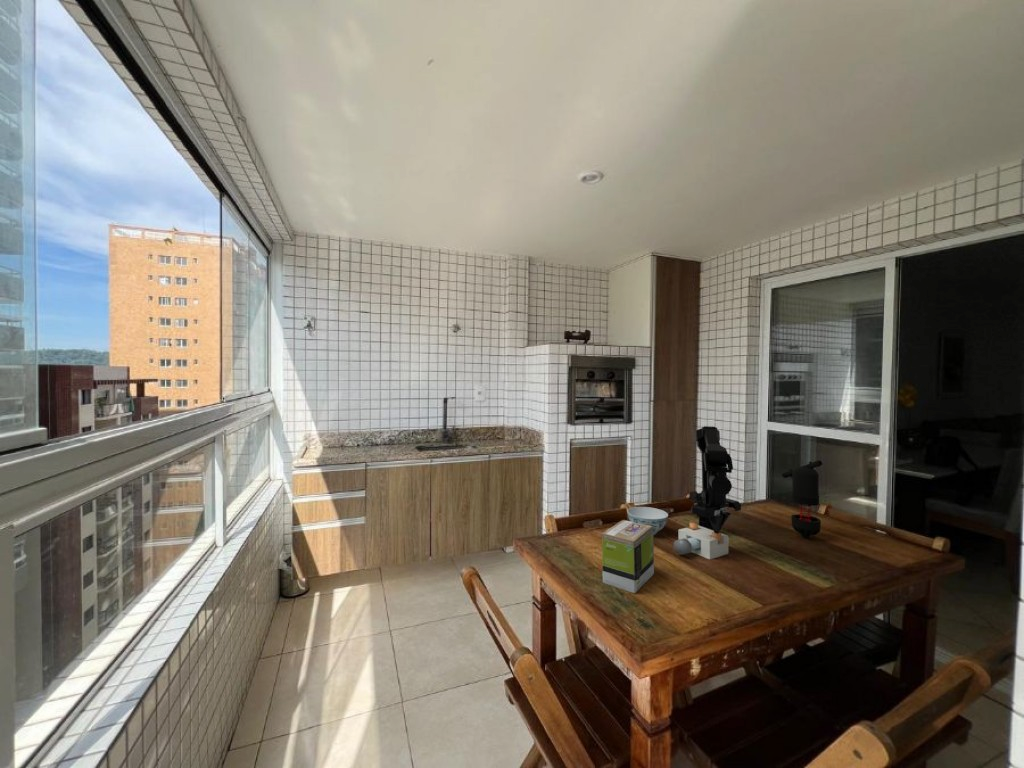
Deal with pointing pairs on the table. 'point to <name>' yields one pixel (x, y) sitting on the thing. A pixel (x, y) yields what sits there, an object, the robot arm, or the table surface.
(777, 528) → the table surface
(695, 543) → the cartridge
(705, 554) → the housing
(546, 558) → the table surface
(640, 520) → the chinaware
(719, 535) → the plunger
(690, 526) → the plunger
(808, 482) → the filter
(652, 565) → the tea box
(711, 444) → the robot arm
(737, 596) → the table surface
